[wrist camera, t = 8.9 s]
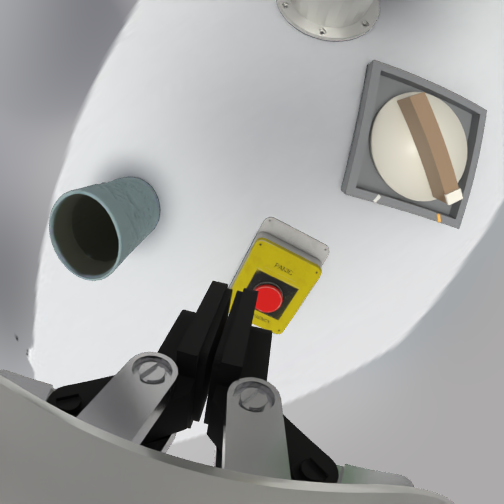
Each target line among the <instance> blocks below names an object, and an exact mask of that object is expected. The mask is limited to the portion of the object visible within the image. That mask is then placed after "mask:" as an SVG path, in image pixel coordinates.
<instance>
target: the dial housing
mask: <svg viewBox="0 0 504 504" xmlns="http://www.w3.org/2000/svg"><path fill="white" fill-rule="evenodd" d="M408 92H425V93H427V94H430V95H433V96H435V97H437V98H439V99H440V100H442V101H443V102H444V103H446V104H447V105H448V106H449V107H450V108H451V109H452V110H453V112H454V113H455V114H456V116H457V117H458V119H459V121H460V123H461V125H462V127H463V129H464V132H465V136H466V141H467V161H466V166H465V169H464V172H463V175H462V177H461V179H460V180H459V182H458V187H459V188H461V192H462V196H463V199H461V200H459V201H457V202H455V203H453V204H451V205H447V204H446V203H444V202H442V201H440V200H438V199H436V200H432V201H415V200H411V199H408V198H406V197H404V196H402V195H400V194H398V193H397V192H395V191H394V190H392V189H391V188H390V187H389V186H388V185H387V184H386V183H385V182H384V181H383V180H382V179H381V177H380V176H379V174H378V173H377V171H376V169H375V167H374V164H373V162H372V159H371V154H370V148H369V135H370V129H371V125H372V122H373V119H374V117H375V115H376V114H377V112H378V110H379V109H380V108H381V107H382V106H383V105H384V104H385V103H386V102H387V101H389V100H390V99H392V98H394V97H396V96H398V95H401V94H404V93H408ZM486 113H487V110H485V109H484V108H482V107H480V106H478V105H477V104H475V103H473V102H471V101H469V100H467V99H465V98H464V97H462V96H460V95H458V94H456V93H454V92H452V91H450V90H448V89H446V88H443V87H441V86H439V85H437V84H435V83H433V82H430V81H428V80H426V79H423V78H421V77H419V76H416V75H414V74H411V73H409V72H406V71H404V70H401V69H399V68H396V67H393V66H390V65H388V64H385V63H382V62H379V61H376V60H373V61H372V62H371V63H370V64H368V65H367V71H366V76H365V82H364V87H363V93H362V98H361V103H360V108H359V113H358V118H357V123H356V128H355V132H354V137H353V141H352V146H351V150H350V155H349V159H348V163H347V167H346V172H345V176H344V180H343V184H342V188H341V190H342V191H343V192H344V194H346V195H350V196H353V197H357V198H361V199H364V200H368V201H372V202H375V203H379V204H382V205H386V206H389V207H392V208H396V209H399V210H402V211H406V212H409V213H412V214H415V215H418V216H422V217H425V218H428V219H431V220H434V221H437V222H440V223H443V224H446V225H449V226H452V227H455V228H457V229H459V228H460V225H461V221H462V218H463V215H464V212H465V209H466V205H467V202H468V198H469V195H470V191H471V187H472V184H473V180H474V176H475V171H476V167H477V163H478V158H479V153H480V149H481V143H482V138H483V132H484V126H485V120H486Z"/></svg>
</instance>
